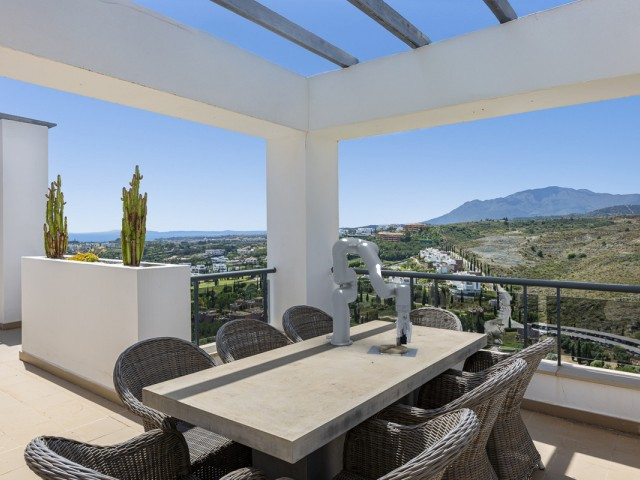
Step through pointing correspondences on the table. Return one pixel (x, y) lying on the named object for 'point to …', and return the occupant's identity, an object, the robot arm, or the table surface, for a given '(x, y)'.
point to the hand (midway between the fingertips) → (403, 344)
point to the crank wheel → (393, 348)
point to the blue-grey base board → (410, 353)
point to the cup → (407, 332)
